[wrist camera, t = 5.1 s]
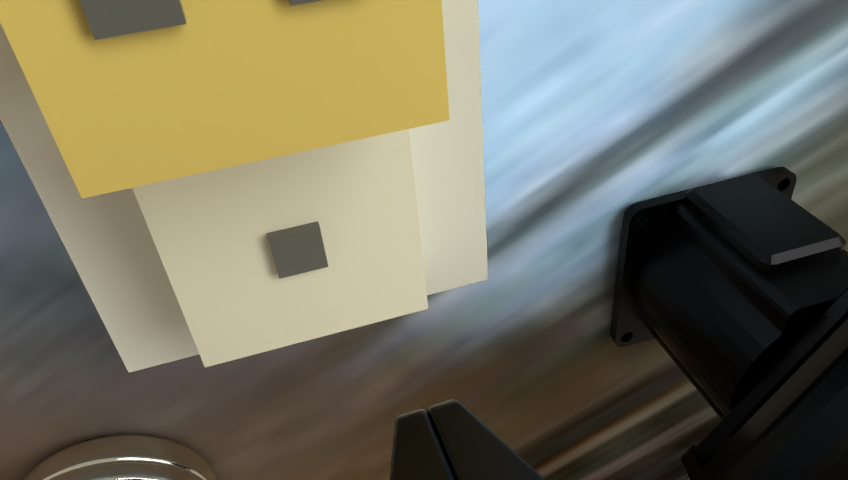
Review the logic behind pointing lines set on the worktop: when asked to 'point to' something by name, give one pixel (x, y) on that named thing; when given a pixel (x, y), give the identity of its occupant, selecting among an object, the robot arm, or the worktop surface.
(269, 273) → the cream tile
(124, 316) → the panel
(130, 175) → the mustard tile
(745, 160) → the worktop surface
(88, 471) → the water bottle
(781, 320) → the robot arm
